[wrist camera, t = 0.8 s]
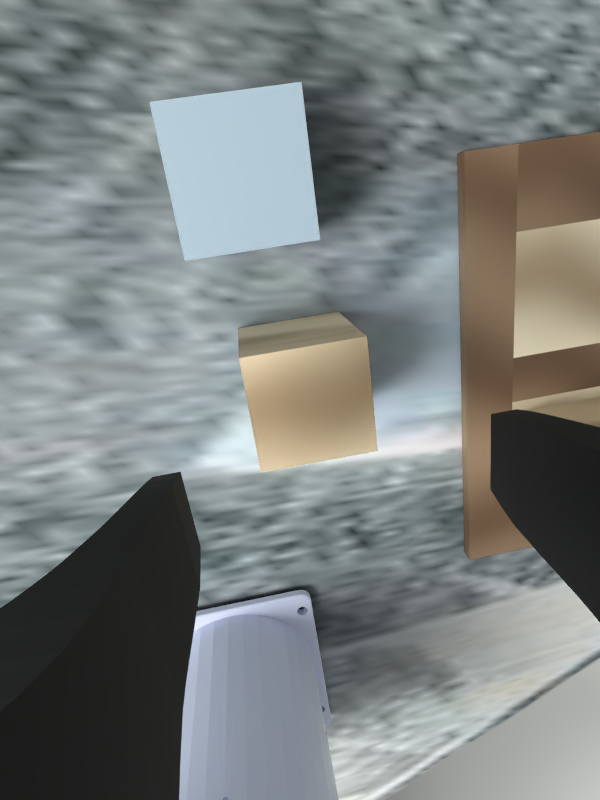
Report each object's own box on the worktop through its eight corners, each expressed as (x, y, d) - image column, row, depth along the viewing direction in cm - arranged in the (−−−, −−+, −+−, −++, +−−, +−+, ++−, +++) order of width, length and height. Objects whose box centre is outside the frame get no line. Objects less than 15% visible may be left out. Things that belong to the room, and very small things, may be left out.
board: (631, 517, 24) (641, 524, 24) (464, 551, 24) (469, 559, 23) (685, 120, 18) (700, 116, 17) (457, 153, 17) (464, 151, 17)
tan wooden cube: (348, 403, 20) (377, 450, 16) (255, 420, 20) (261, 472, 16) (337, 311, 19) (367, 336, 15) (238, 328, 19) (238, 358, 14)
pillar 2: (600, 473, 22) (684, 530, 18) (520, 489, 22) (586, 551, 18) (608, 394, 21) (702, 437, 17) (523, 410, 21) (596, 458, 16)
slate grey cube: (302, 236, 18) (320, 239, 14) (195, 252, 17) (184, 260, 14) (286, 114, 16) (301, 81, 13) (169, 130, 16) (149, 102, 12)
